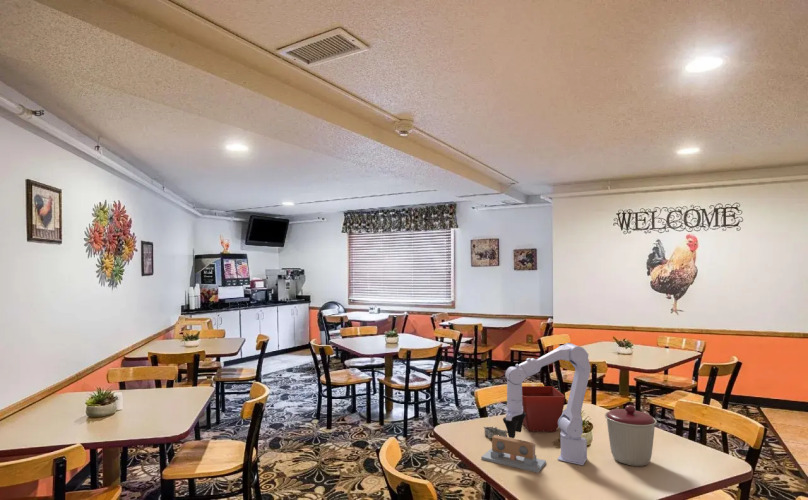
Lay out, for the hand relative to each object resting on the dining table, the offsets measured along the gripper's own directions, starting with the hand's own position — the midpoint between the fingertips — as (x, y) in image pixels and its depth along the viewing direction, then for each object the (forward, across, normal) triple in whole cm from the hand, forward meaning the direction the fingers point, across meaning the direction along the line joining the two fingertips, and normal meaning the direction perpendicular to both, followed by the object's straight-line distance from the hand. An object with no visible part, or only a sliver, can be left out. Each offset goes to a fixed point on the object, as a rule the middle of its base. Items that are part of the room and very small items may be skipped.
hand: (514, 434), depth 180 cm
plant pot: (+10, -43, -3) cm, 44 cm away
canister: (+10, -24, +38) cm, 46 cm away
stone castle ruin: (+10, -20, -16) cm, 27 cm away
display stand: (+10, +1, 0) cm, 10 cm away
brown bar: (+7, +1, 0) cm, 7 cm away
